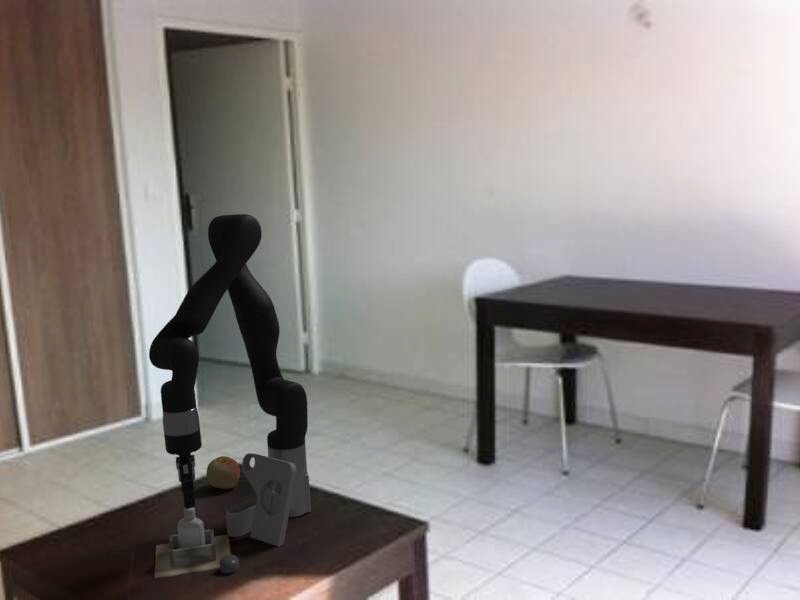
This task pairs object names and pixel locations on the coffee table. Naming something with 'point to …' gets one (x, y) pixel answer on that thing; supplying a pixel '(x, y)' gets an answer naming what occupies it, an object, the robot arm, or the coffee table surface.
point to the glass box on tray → (190, 556)
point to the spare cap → (229, 564)
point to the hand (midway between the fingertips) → (189, 499)
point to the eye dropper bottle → (190, 530)
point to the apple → (223, 472)
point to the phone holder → (264, 501)
